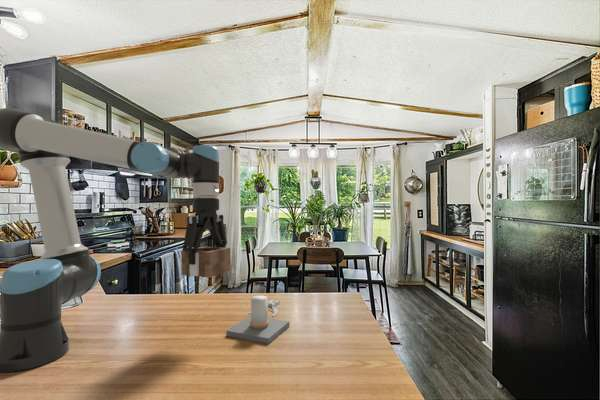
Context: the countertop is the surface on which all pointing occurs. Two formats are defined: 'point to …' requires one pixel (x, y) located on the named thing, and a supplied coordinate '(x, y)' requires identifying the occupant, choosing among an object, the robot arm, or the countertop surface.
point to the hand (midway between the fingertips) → (206, 271)
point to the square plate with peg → (258, 324)
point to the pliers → (272, 304)
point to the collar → (208, 261)
